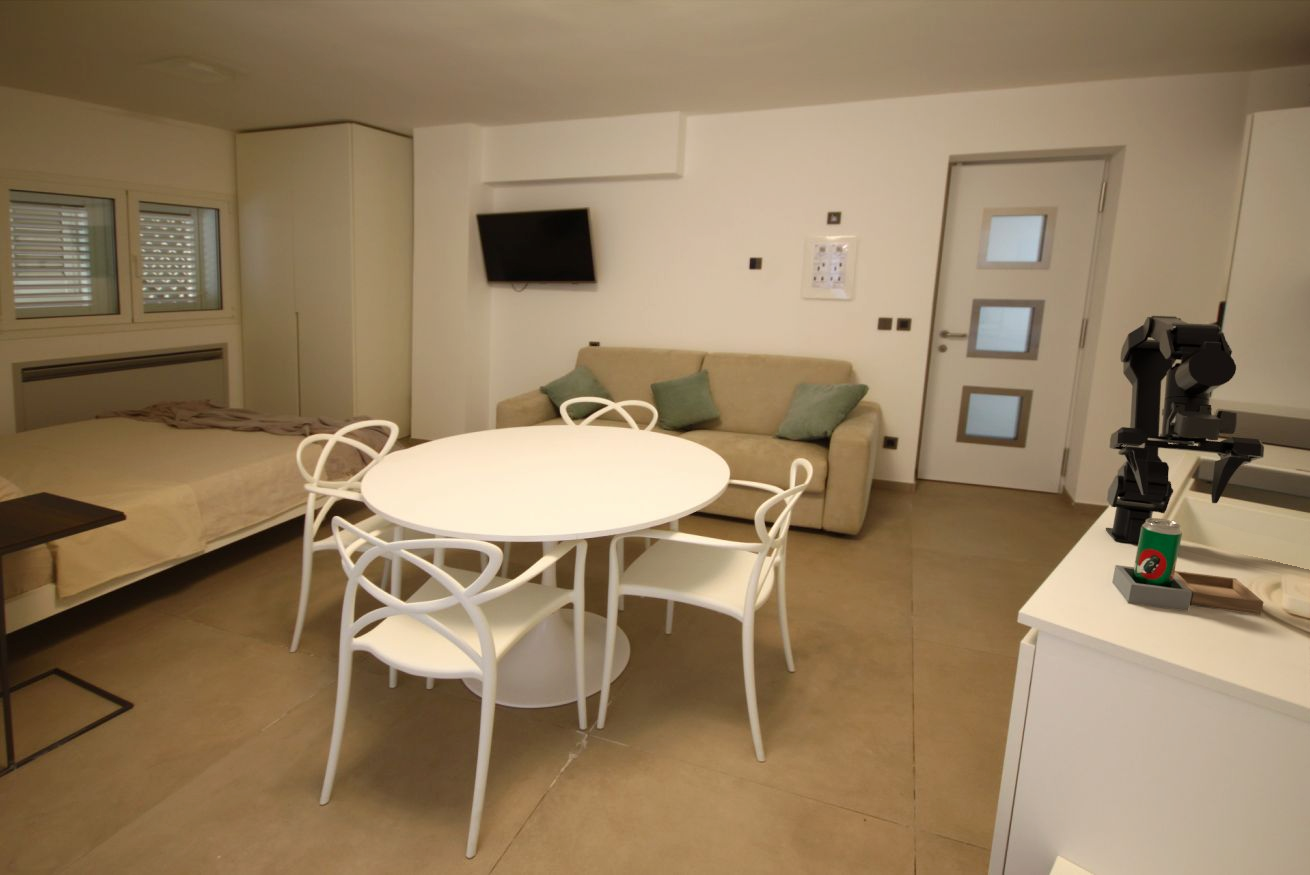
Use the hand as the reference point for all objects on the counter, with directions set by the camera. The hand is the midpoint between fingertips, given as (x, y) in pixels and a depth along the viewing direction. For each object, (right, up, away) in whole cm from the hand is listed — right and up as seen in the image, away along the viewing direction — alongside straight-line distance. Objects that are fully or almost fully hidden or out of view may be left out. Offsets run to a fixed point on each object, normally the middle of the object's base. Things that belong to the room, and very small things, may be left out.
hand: (1178, 498), depth 110 cm
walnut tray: (+5, -15, 0) cm, 16 cm away
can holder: (-5, -15, -1) cm, 16 cm away
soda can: (-5, -15, -1) cm, 16 cm away
